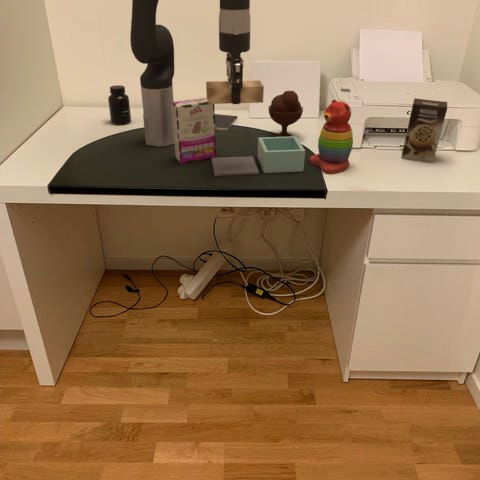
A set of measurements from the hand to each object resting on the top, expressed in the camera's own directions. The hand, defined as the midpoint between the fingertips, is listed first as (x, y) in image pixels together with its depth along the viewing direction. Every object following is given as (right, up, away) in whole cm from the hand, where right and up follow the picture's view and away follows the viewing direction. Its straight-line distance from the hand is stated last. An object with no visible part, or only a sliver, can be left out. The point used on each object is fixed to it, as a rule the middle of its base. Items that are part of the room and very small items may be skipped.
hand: (234, 99), depth 121 cm
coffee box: (+54, -12, +17) cm, 58 cm away
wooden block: (0, 0, 0) cm, 0 cm away
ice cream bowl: (+16, -3, +30) cm, 34 cm away
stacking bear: (+27, -15, +12) cm, 33 cm away
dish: (+13, -15, +12) cm, 23 cm away
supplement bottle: (-39, +4, +41) cm, 57 cm away
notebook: (-11, +4, +43) cm, 44 cm away
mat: (0, -16, +10) cm, 19 cm away
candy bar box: (-11, -12, +15) cm, 23 cm away
